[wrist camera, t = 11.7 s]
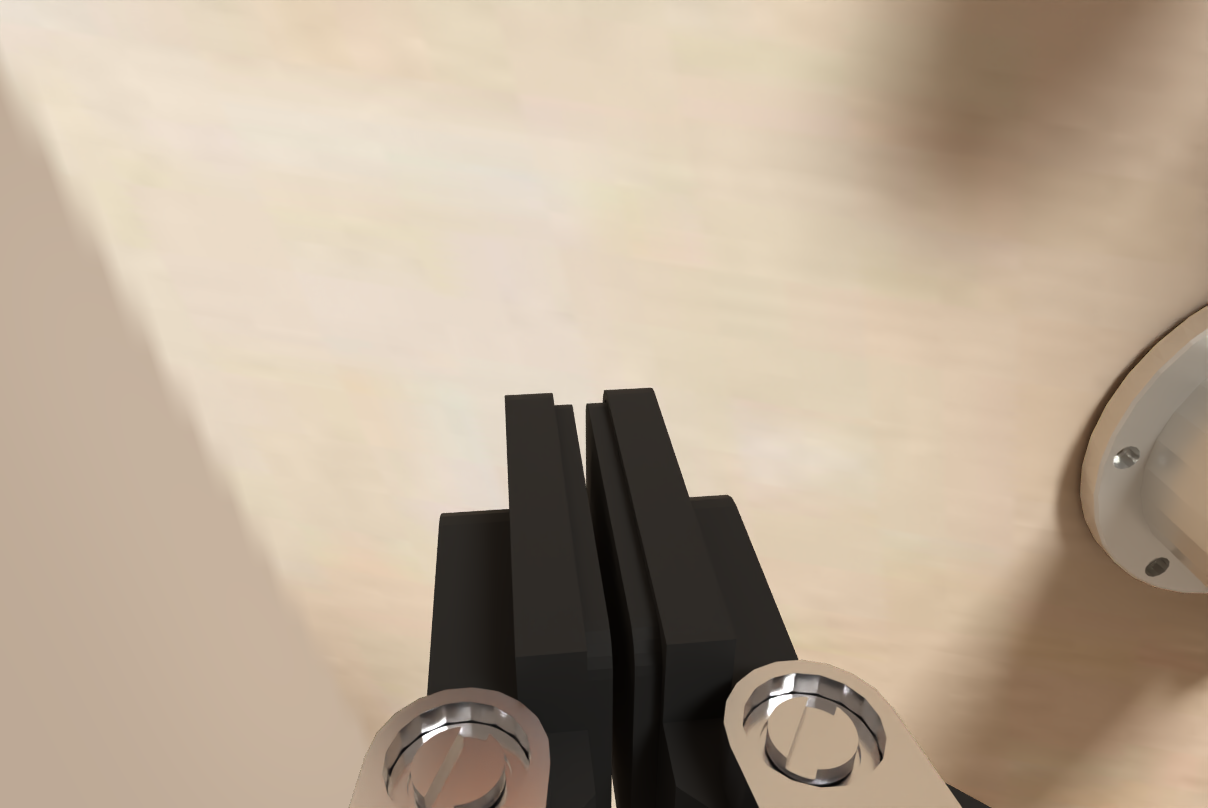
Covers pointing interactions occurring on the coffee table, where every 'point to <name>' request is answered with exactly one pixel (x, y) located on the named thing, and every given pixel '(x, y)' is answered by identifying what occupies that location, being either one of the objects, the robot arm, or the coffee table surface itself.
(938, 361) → the coffee table surface
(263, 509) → the coffee table surface
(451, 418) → the coffee table surface
